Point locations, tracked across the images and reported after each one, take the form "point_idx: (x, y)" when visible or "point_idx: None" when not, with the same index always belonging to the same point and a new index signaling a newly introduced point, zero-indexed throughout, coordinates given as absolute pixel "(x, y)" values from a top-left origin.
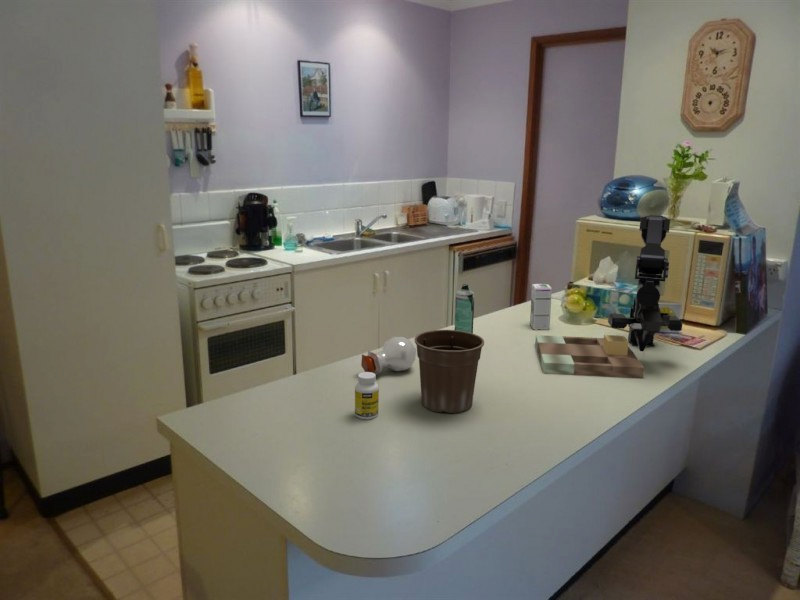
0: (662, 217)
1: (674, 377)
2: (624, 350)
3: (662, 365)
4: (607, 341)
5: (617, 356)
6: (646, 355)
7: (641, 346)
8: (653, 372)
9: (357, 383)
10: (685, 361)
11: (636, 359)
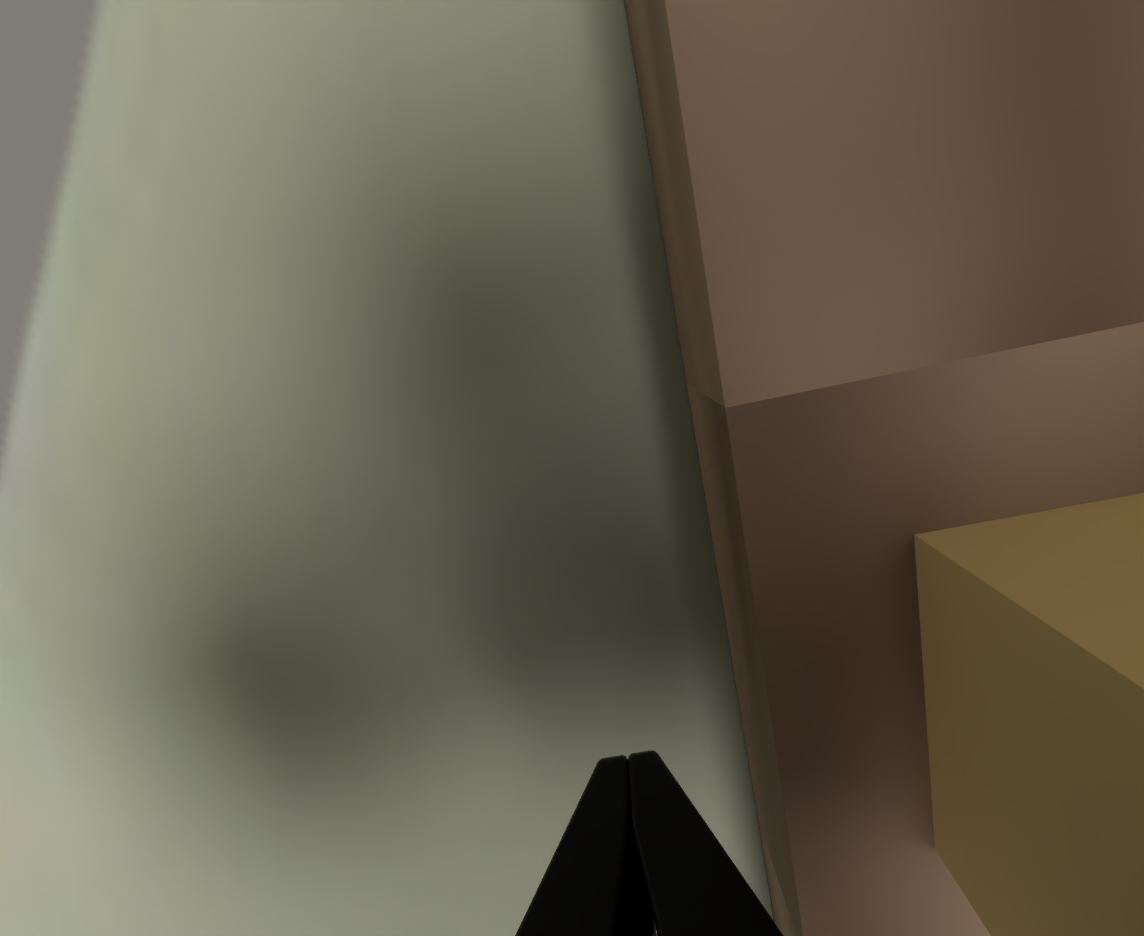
0: None
1: (136, 190)
2: (1061, 566)
3: (333, 638)
4: None
5: (1142, 394)
6: None
7: (656, 828)
8: (441, 308)
9: None
10: (92, 849)
11: (752, 335)
